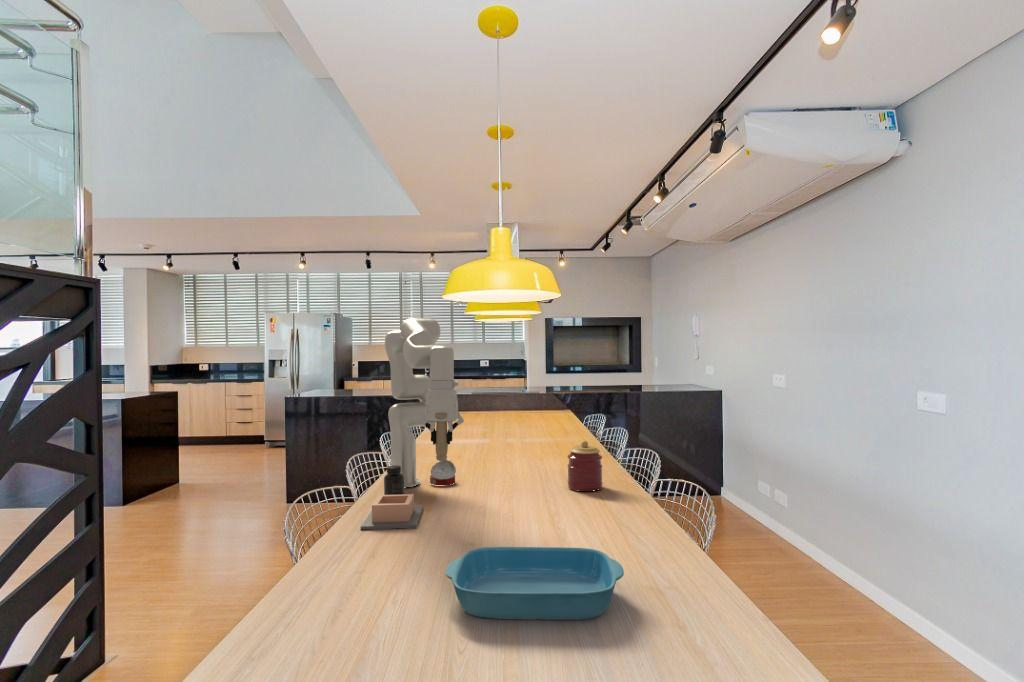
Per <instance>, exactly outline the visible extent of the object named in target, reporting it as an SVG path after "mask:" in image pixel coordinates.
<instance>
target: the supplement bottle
mask: <svg viewBox="0 0 1024 682" xmlns="http://www.w3.org/2000/svg"><path fill="white" fill-rule="evenodd" d="M400 472H401V466H398V465H394V466H391V465H388V466H386V474H385V475H384V477H383V495H403V494H405V488H404V476H403V474H401V473H400Z"/></svg>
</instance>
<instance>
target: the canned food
mask: <svg viewBox="0 0 1024 682" xmlns="http://www.w3.org/2000/svg"><path fill="white" fill-rule="evenodd" d="M456 473H457V469H456V466H455V465H454V463H453V462H452V461H451V460H448V459H446V460H444V461H437V462H436V463H435V464H434V465H432V467H431V469H430V476H429V484H430V483H431V484H434V485H450V484H453V483H455V484H456Z"/></svg>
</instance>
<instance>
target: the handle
mask: <svg viewBox="0 0 1024 682" xmlns="http://www.w3.org/2000/svg"><path fill="white" fill-rule="evenodd" d="M435 418H437V419H440V420H443V419H445V418H447V413H435ZM435 431H436V444H435V454H436V456H435V459H436V461H438V462H440V461H444V460H448V449H449V448H448V447H449V444H447V432H448V422H436V423H435Z"/></svg>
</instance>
